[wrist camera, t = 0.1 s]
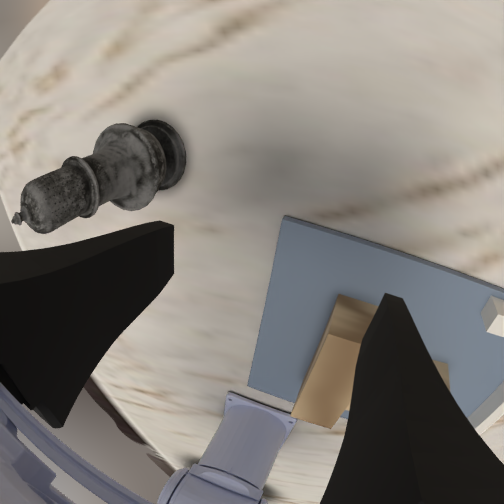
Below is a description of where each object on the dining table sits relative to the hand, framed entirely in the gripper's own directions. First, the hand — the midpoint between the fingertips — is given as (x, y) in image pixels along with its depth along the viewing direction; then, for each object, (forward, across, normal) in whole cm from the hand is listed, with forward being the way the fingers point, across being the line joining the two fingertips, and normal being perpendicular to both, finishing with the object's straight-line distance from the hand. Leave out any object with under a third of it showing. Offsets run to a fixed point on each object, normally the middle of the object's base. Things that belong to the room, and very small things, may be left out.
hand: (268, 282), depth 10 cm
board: (+10, -10, +11) cm, 18 cm away
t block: (+9, -8, +11) cm, 17 cm away
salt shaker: (+10, +12, 0) cm, 16 cm away
